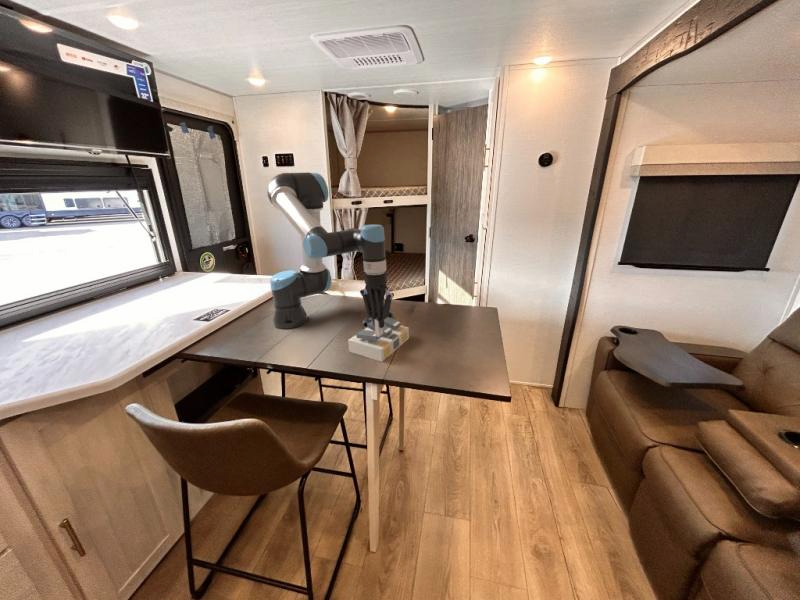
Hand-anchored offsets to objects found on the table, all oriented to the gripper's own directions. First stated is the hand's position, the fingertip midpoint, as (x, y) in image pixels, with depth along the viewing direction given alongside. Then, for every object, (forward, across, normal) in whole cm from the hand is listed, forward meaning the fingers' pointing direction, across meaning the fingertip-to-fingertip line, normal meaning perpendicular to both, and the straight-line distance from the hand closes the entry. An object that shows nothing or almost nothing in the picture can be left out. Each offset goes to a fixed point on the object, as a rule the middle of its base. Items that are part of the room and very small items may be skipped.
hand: (379, 334), depth 113 cm
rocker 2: (+2, -5, +6) cm, 8 cm away
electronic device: (+9, -18, +24) cm, 31 cm away
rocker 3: (+2, -5, +13) cm, 14 cm away
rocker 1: (+2, -5, 0) cm, 5 cm away
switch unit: (+8, -5, +7) cm, 12 cm away
